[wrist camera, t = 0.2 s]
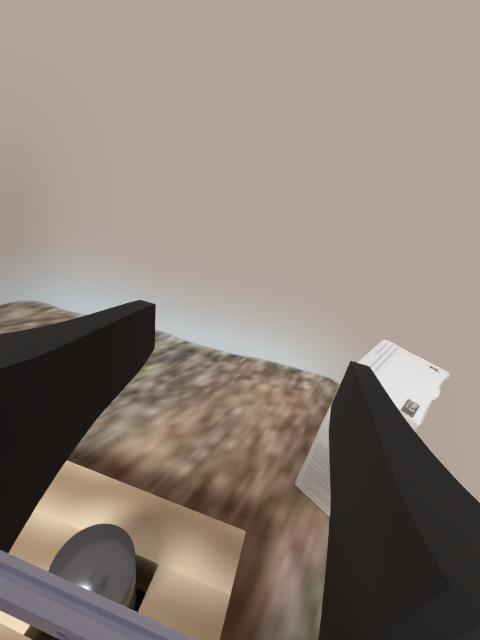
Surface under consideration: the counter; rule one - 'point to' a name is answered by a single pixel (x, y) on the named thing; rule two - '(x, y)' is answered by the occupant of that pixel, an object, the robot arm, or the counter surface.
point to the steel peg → (100, 563)
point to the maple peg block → (138, 550)
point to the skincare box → (405, 391)
